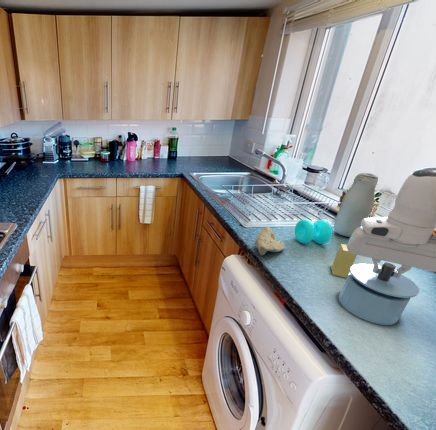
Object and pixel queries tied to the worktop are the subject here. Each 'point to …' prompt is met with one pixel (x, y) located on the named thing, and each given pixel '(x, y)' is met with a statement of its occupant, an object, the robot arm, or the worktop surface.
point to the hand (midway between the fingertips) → (384, 274)
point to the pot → (371, 303)
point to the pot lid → (384, 280)
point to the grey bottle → (356, 204)
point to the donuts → (313, 231)
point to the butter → (343, 262)
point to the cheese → (268, 241)
